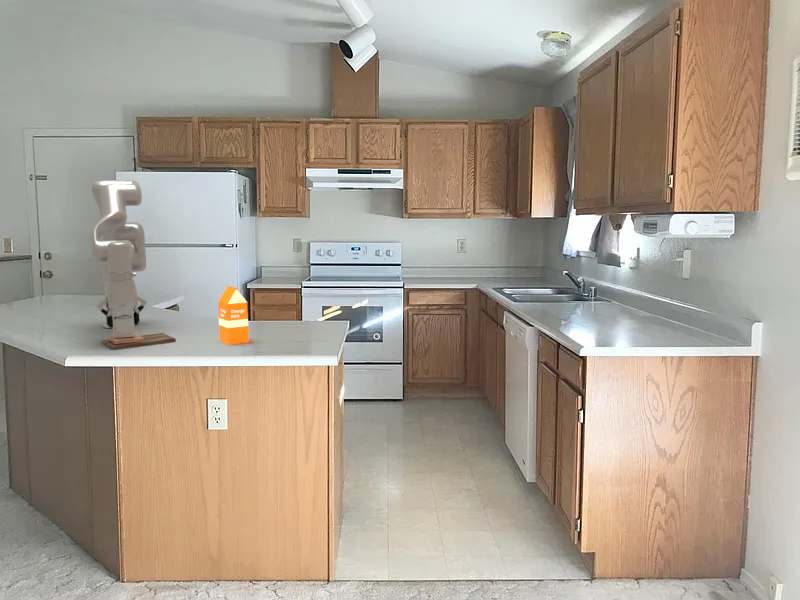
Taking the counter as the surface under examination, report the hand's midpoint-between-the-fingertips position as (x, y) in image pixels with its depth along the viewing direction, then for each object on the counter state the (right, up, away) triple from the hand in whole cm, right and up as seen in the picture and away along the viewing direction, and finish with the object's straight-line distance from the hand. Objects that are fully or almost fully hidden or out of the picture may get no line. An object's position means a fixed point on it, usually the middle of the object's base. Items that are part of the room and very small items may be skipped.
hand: (123, 325), depth 240 cm
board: (+4, -6, +4) cm, 8 cm away
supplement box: (-1, -4, +2) cm, 4 cm away
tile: (+1, -4, +1) cm, 4 cm away
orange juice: (+38, -6, +5) cm, 39 cm away
